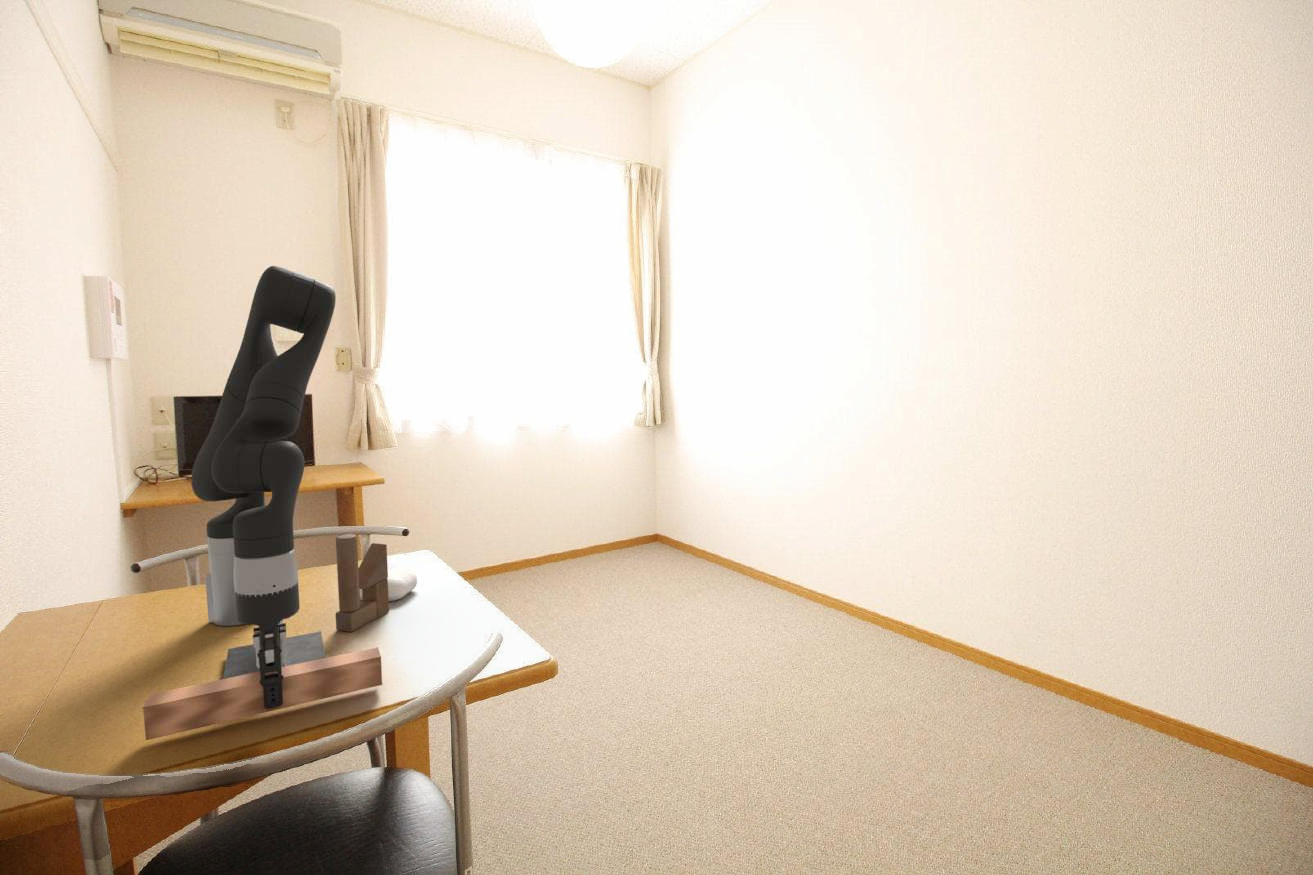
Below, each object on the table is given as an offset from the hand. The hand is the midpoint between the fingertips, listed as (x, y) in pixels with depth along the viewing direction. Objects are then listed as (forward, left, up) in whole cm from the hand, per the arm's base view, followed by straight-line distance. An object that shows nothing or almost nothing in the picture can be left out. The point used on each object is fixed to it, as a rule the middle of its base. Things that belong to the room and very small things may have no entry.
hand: (273, 699), depth 88 cm
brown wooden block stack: (-5, +33, -2) cm, 34 cm away
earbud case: (-8, +47, -3) cm, 48 cm away
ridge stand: (-9, +14, -2) cm, 17 cm away
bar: (0, 0, -1) cm, 1 cm away
